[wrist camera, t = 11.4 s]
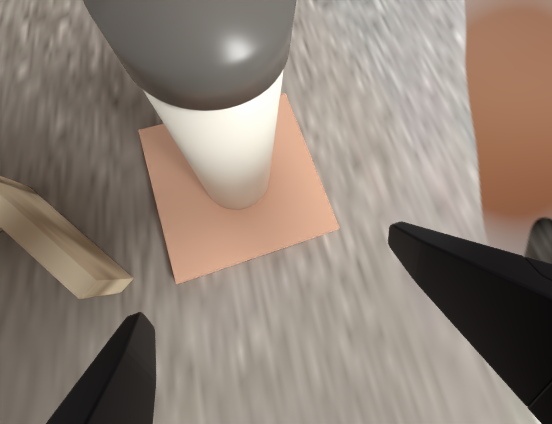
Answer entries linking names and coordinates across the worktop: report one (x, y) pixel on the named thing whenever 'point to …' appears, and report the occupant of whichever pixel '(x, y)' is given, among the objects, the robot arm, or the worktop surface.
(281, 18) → the cream spice jar
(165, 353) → the worktop surface
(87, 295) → the birch stall
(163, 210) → the terracotta tile
